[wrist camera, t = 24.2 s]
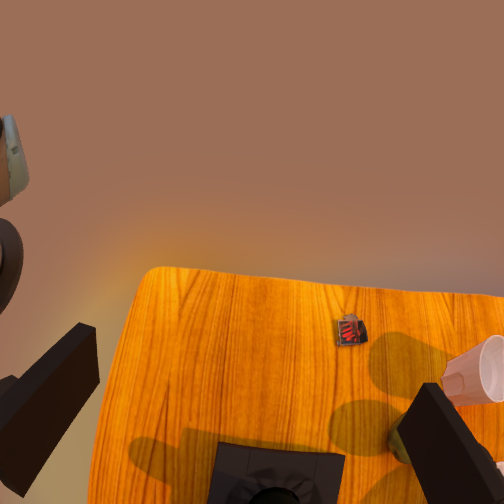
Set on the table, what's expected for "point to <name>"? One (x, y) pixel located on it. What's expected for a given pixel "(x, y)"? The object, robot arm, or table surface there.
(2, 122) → the robot arm
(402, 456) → the apple
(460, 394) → the cup
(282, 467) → the socket pad
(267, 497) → the beer can
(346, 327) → the matchbox
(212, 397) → the table surface
